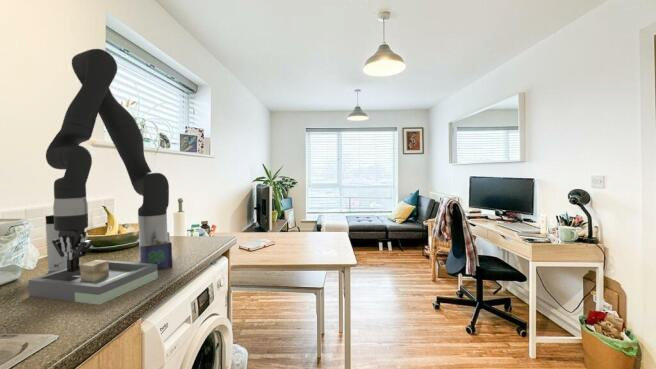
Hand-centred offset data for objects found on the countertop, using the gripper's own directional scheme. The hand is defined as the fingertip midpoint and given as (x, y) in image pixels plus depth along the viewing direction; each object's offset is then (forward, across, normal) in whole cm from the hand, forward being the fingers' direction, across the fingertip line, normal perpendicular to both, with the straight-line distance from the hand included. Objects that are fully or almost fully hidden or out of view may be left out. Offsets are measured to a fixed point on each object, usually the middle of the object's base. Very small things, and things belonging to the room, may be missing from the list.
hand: (73, 271), depth 84 cm
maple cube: (+2, -8, 0) cm, 8 cm away
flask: (+4, -14, -16) cm, 22 cm away
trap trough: (+4, -9, 0) cm, 10 cm away
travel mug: (+4, +17, -8) cm, 19 cm away
